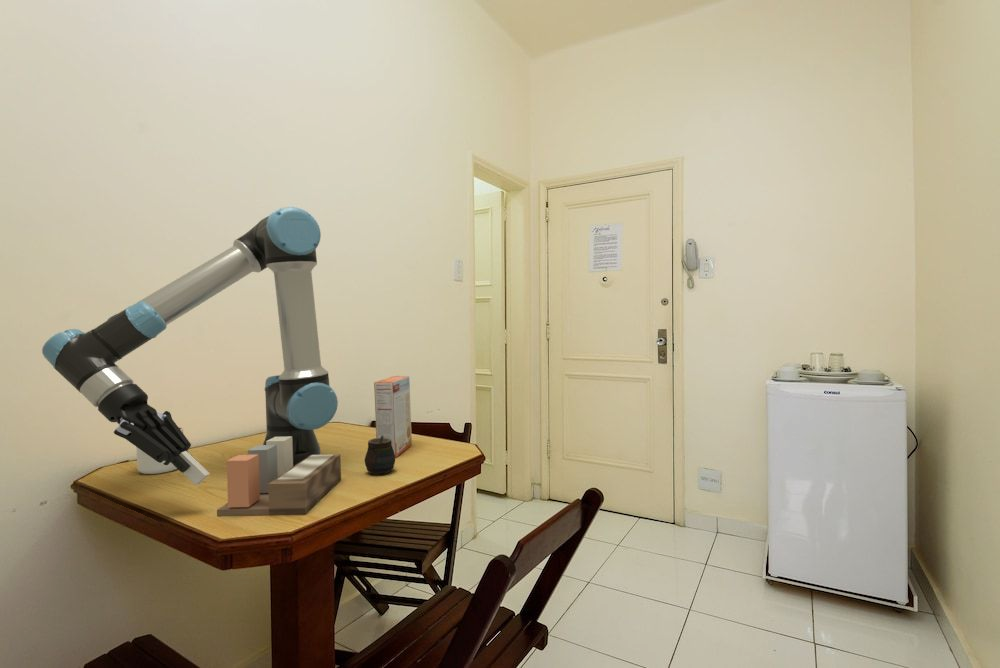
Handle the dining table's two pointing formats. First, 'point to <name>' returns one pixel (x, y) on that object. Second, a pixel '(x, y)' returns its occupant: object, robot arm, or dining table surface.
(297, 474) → the key console
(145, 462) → the cup
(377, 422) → the cracker box
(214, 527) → the dining table surface
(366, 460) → the mate gourd
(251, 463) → the pink tall block
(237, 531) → the dining table surface
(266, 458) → the slate key
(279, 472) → the ivory key
